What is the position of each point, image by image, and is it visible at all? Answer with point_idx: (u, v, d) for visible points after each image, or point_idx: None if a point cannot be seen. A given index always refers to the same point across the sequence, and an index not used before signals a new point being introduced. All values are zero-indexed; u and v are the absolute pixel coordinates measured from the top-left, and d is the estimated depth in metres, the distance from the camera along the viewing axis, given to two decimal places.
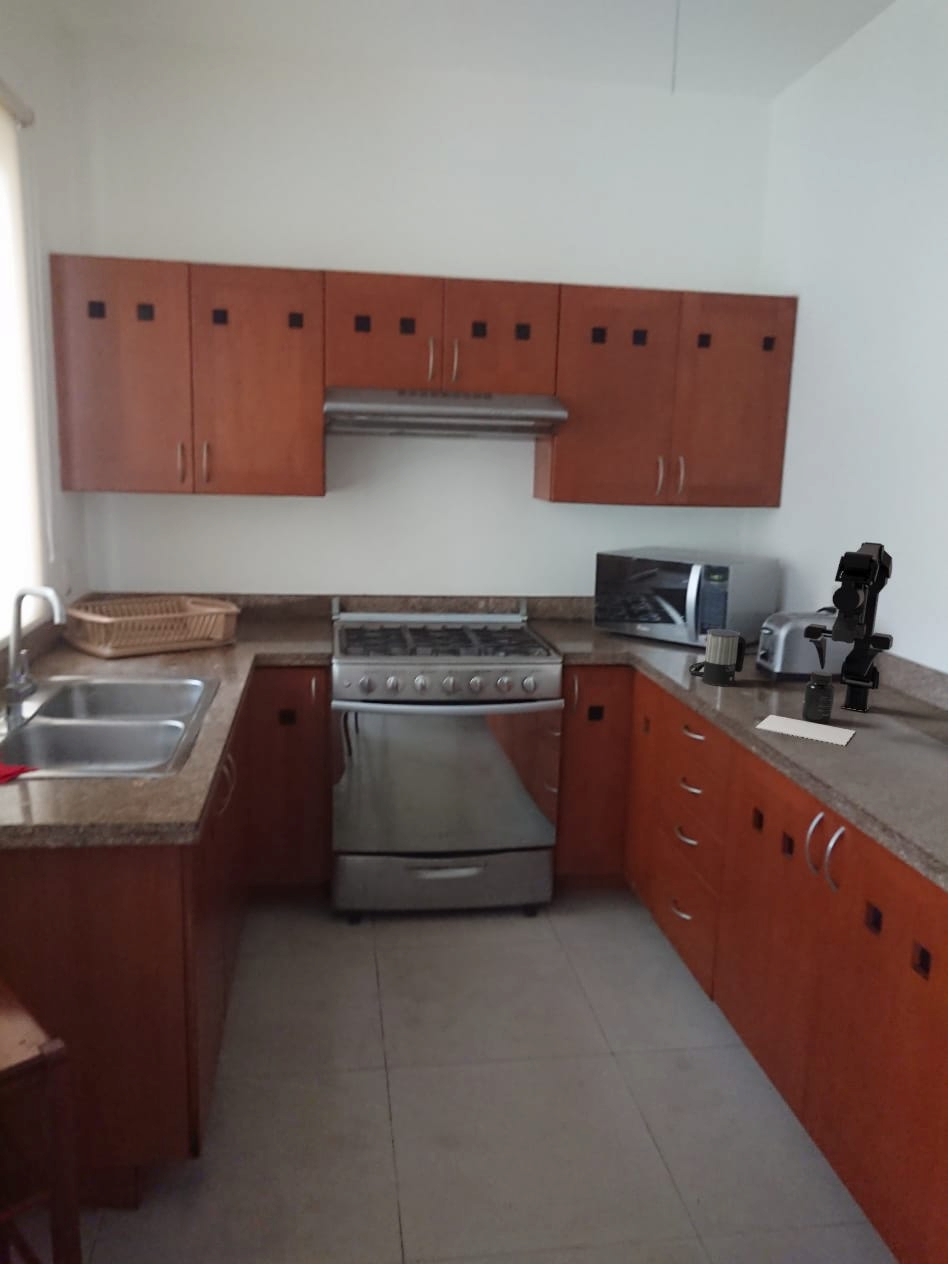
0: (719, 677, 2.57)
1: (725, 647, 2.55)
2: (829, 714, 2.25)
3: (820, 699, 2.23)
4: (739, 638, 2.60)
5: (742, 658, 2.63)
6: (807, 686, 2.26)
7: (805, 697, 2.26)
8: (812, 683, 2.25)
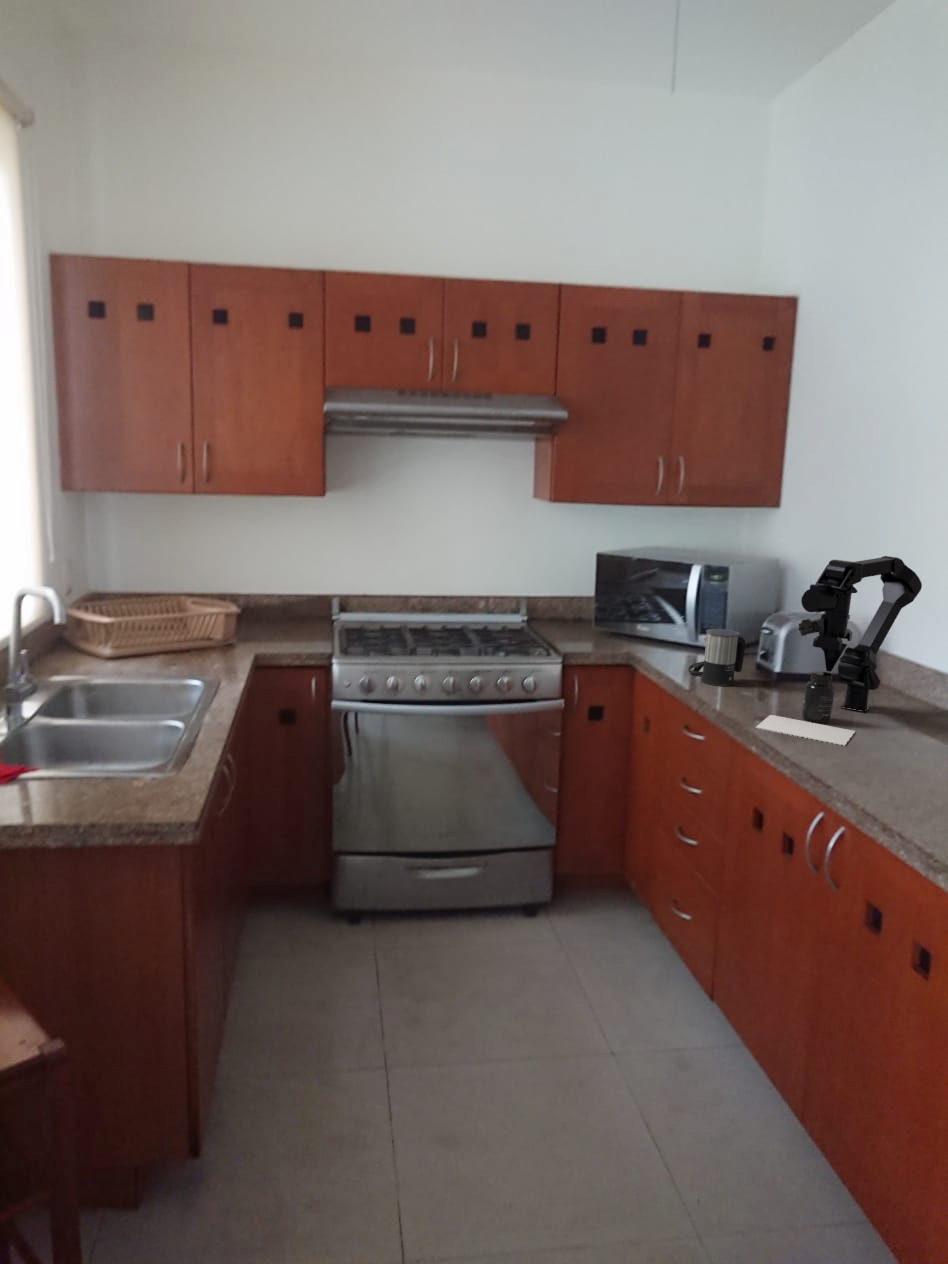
0: (718, 677, 2.57)
1: (725, 647, 2.55)
2: (829, 714, 2.25)
3: (820, 699, 2.23)
4: (738, 638, 2.61)
5: (741, 658, 2.63)
6: (807, 686, 2.26)
7: (805, 697, 2.26)
8: (812, 683, 2.25)
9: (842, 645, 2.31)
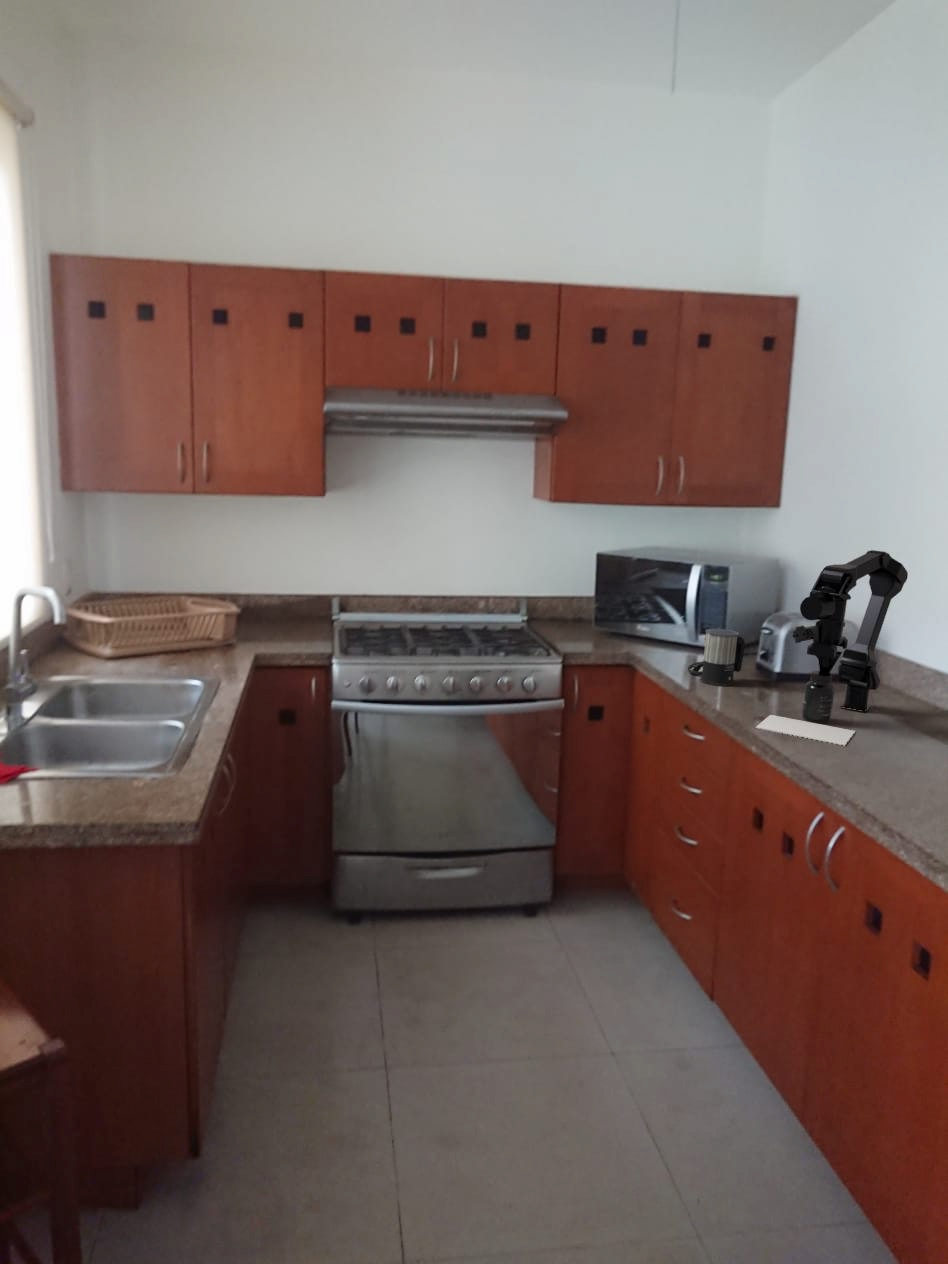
0: (717, 676, 2.57)
1: (724, 647, 2.55)
2: (829, 714, 2.25)
3: (820, 699, 2.23)
4: (738, 638, 2.61)
5: (741, 658, 2.63)
6: (807, 686, 2.25)
7: (805, 697, 2.26)
8: (812, 683, 2.25)
9: (837, 653, 2.27)
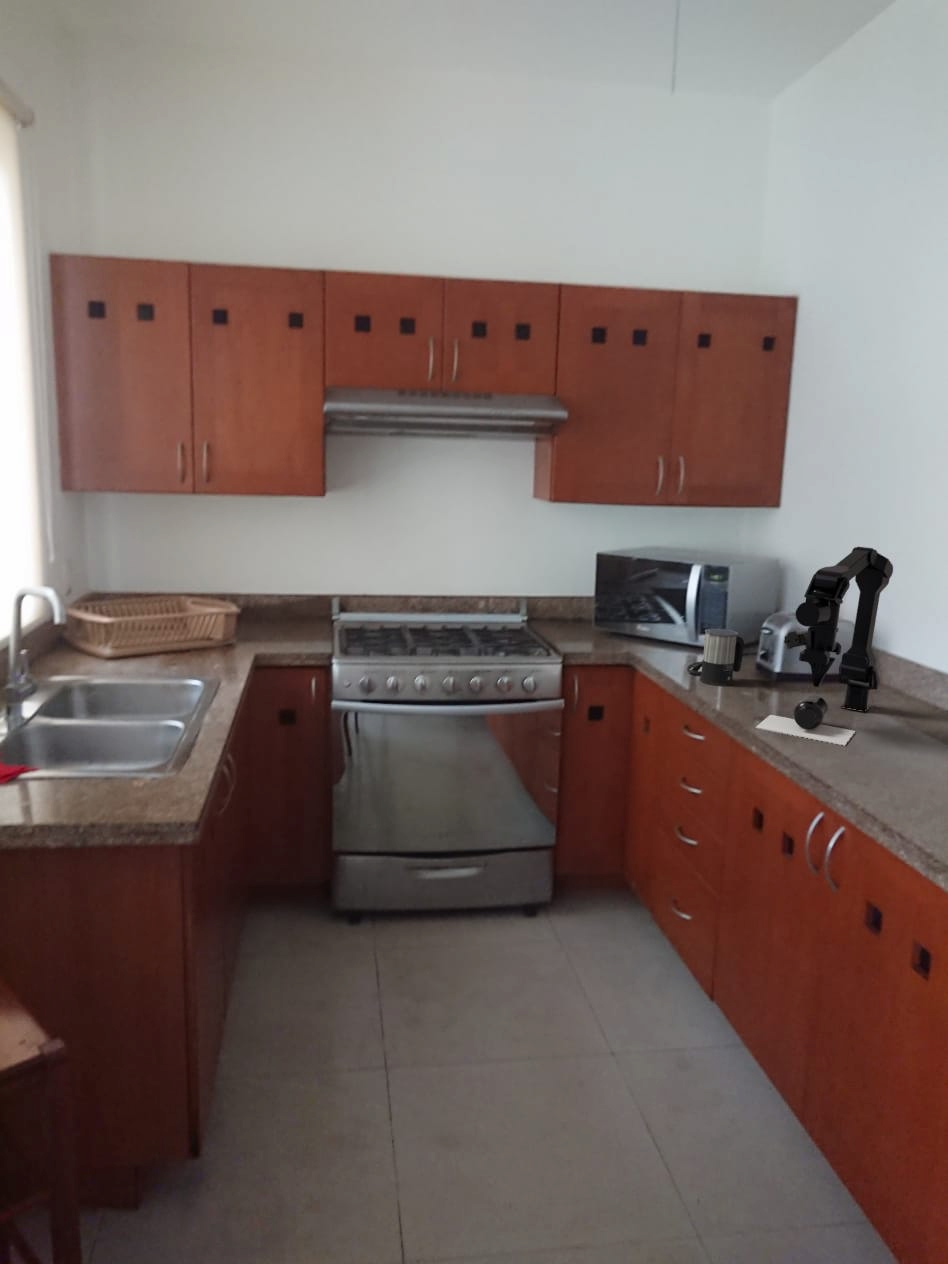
0: (717, 676, 2.57)
1: (723, 647, 2.55)
2: (825, 715, 2.21)
3: None
4: (737, 638, 2.61)
5: (740, 658, 2.64)
6: (796, 722, 2.19)
7: None
8: None
9: (830, 659, 2.20)
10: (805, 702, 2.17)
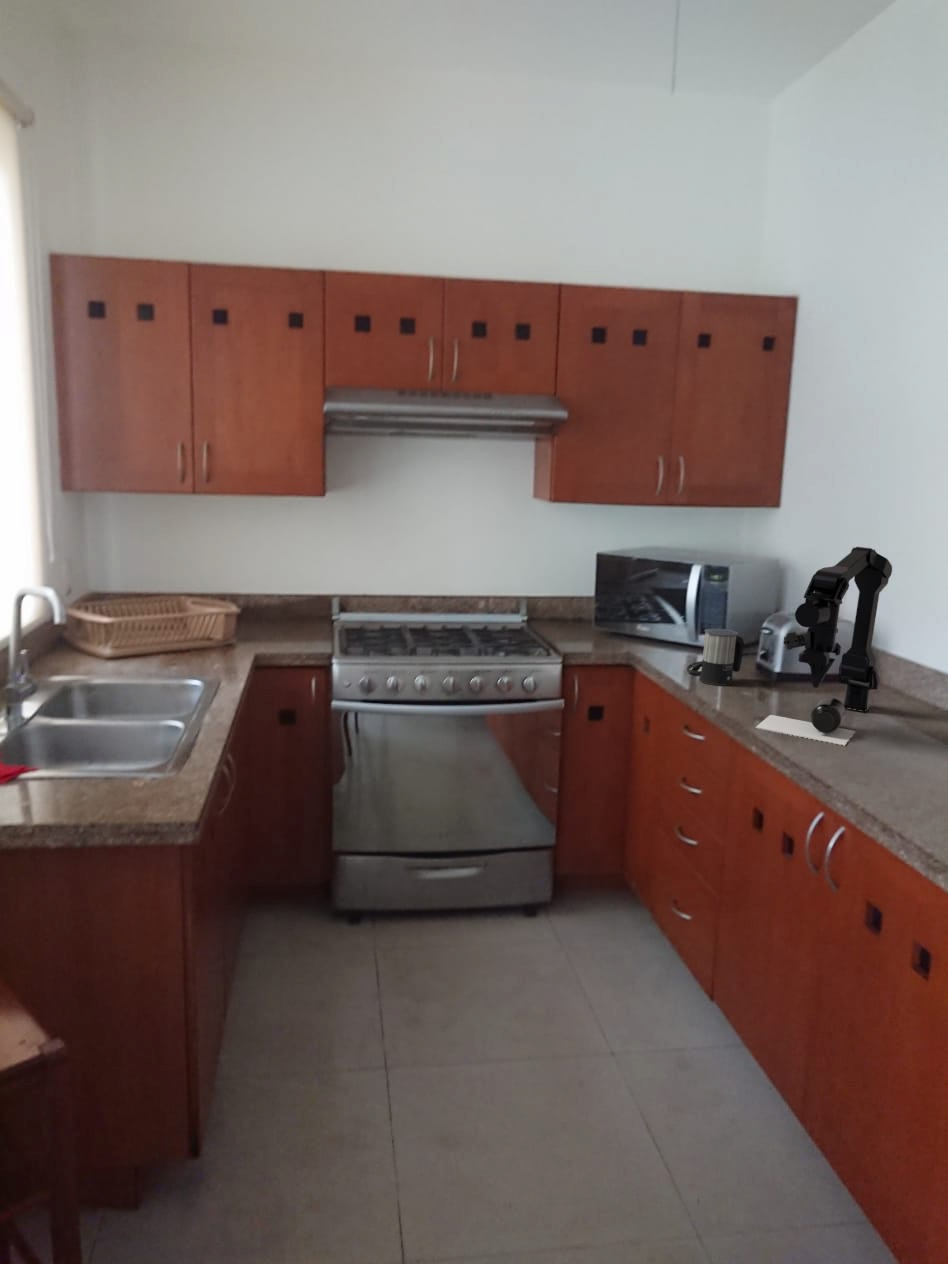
0: (716, 676, 2.57)
1: (723, 647, 2.55)
2: None
3: None
4: (737, 638, 2.61)
5: (740, 658, 2.64)
6: (813, 710, 2.16)
7: None
8: (814, 715, 2.15)
9: (830, 660, 2.19)
10: (837, 712, 2.14)
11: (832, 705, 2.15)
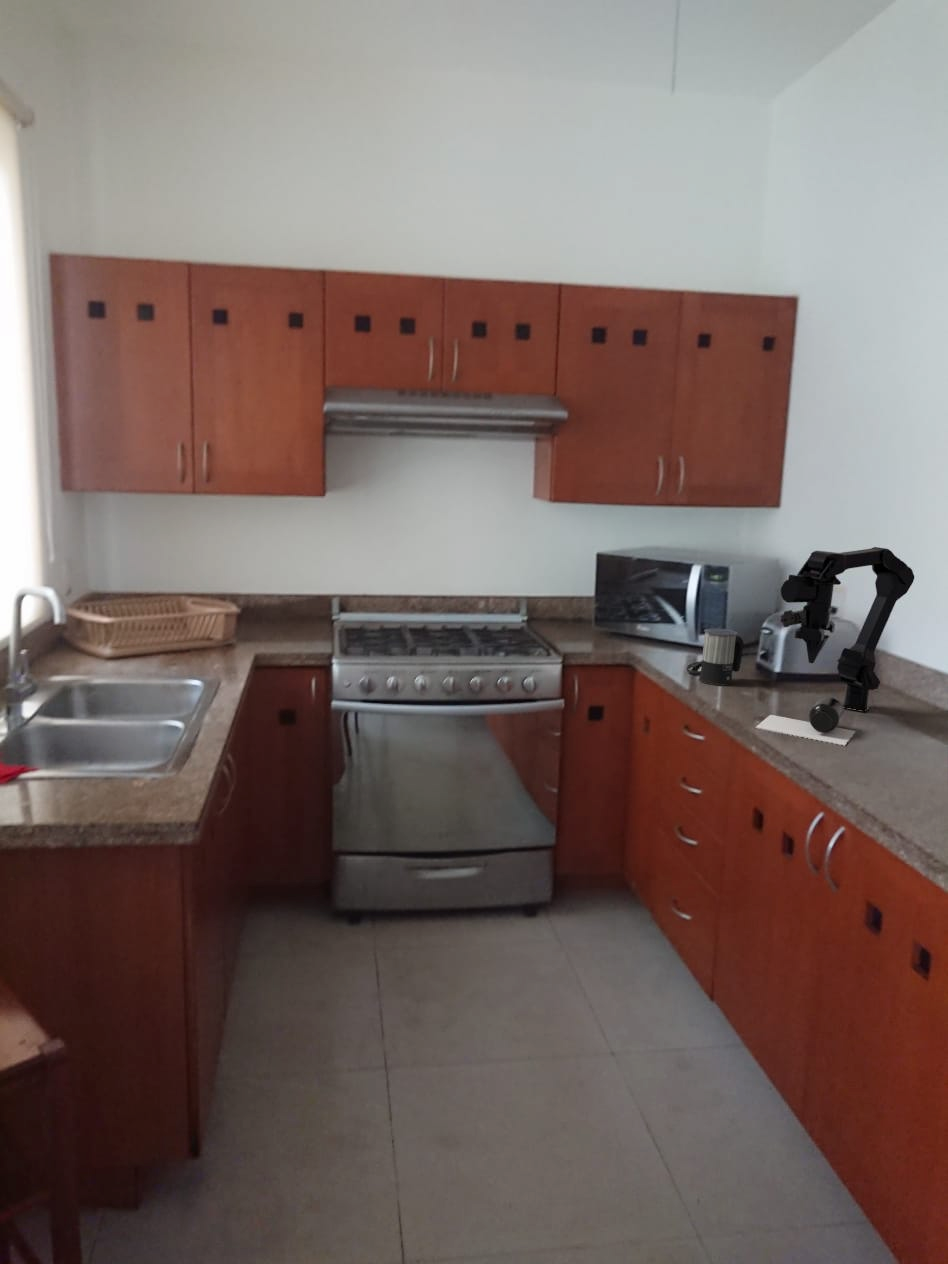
0: (716, 676, 2.57)
1: (722, 647, 2.55)
2: None
3: None
4: (736, 638, 2.61)
5: (739, 658, 2.64)
6: (810, 711, 2.17)
7: None
8: None
9: (824, 637, 2.30)
10: (834, 711, 2.14)
11: (828, 704, 2.15)
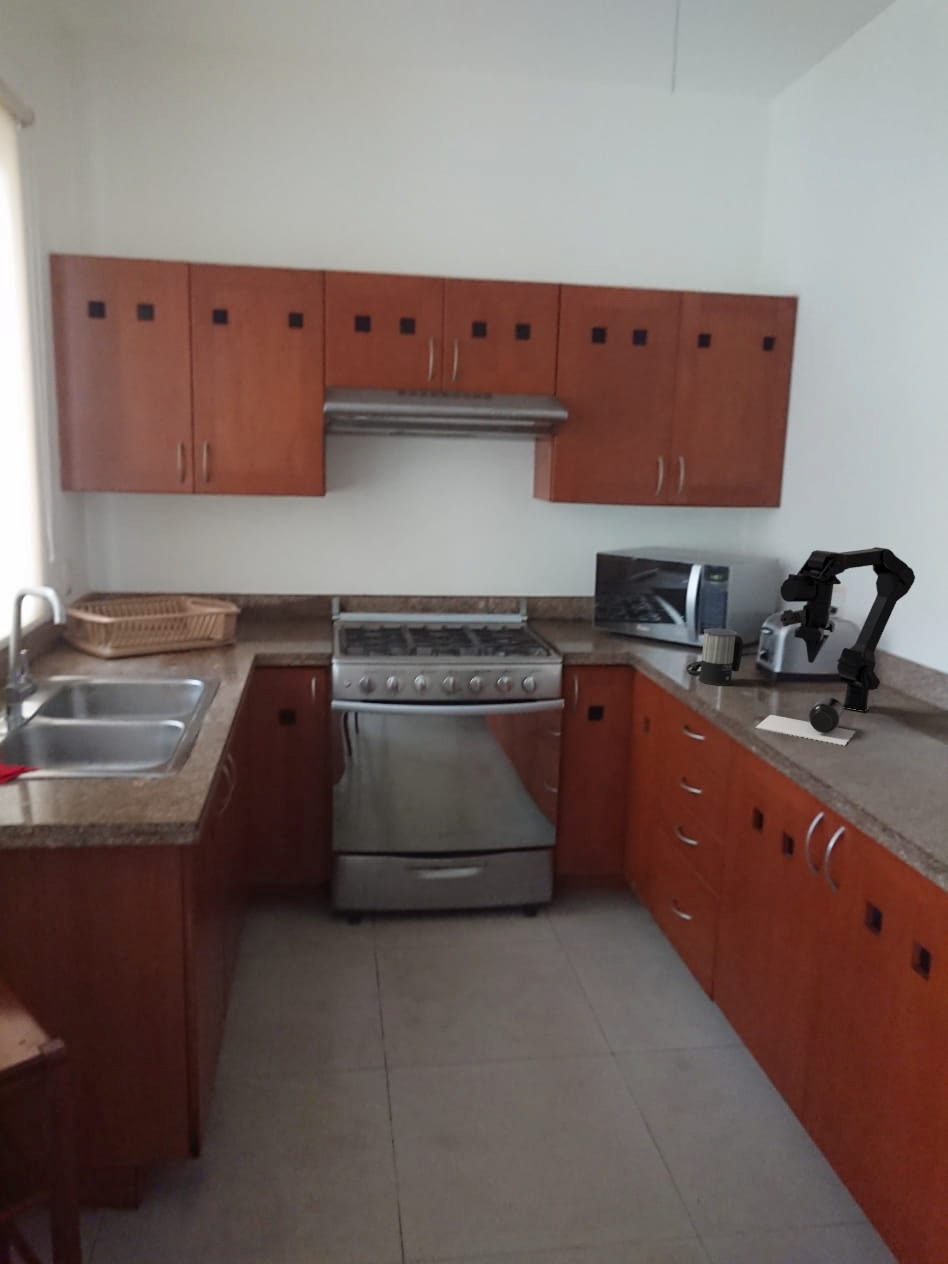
0: (715, 676, 2.57)
1: (722, 646, 2.55)
2: None
3: None
4: (736, 637, 2.61)
5: (739, 657, 2.64)
6: (810, 711, 2.17)
7: None
8: None
9: (824, 636, 2.30)
10: (834, 711, 2.14)
11: (828, 704, 2.15)
